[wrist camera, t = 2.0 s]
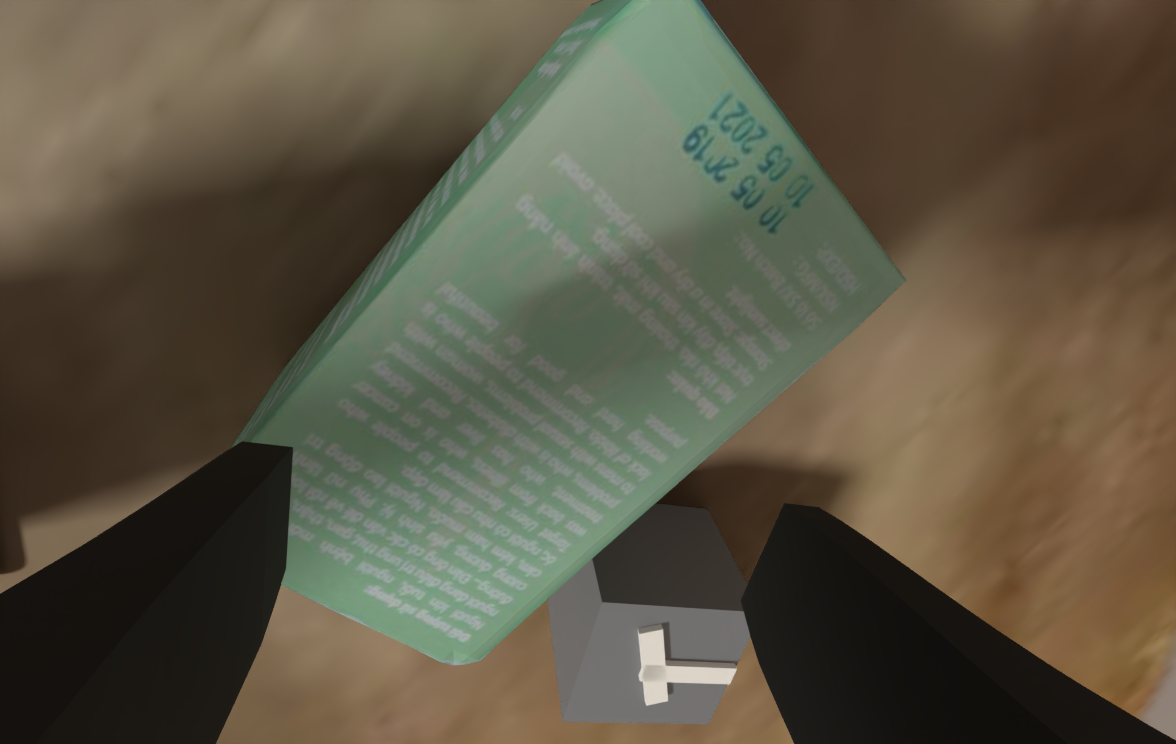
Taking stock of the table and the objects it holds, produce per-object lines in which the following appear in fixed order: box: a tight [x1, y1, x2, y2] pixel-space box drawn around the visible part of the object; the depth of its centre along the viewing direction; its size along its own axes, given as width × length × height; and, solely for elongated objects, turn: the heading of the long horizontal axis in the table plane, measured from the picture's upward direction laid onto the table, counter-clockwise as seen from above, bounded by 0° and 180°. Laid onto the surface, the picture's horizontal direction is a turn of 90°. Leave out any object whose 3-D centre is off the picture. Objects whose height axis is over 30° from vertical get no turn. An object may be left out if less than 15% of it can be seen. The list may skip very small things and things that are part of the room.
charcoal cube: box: [548, 503, 750, 724], centre depth 21 cm, size 5×5×5 cm
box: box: [230, 0, 906, 665], centre depth 15 cm, size 7×14×8 cm, turn 135°
